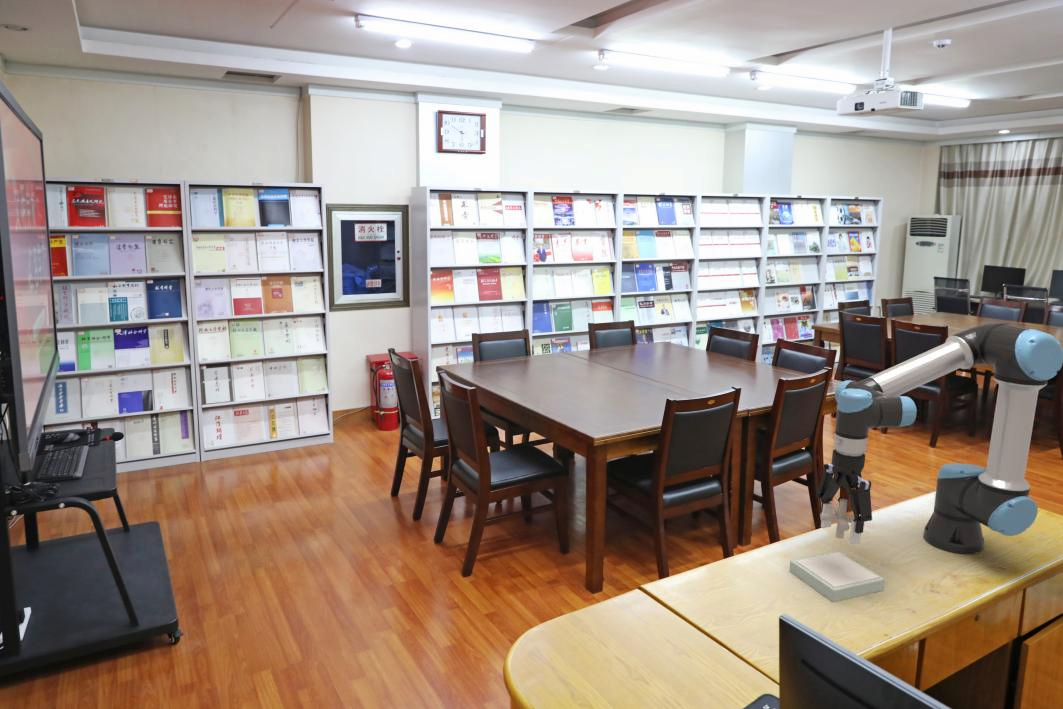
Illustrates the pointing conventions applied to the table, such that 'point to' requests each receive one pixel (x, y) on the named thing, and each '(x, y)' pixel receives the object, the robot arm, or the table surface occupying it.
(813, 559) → the stand
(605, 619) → the table surface
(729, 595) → the table surface
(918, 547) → the table surface
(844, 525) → the pipe connector
